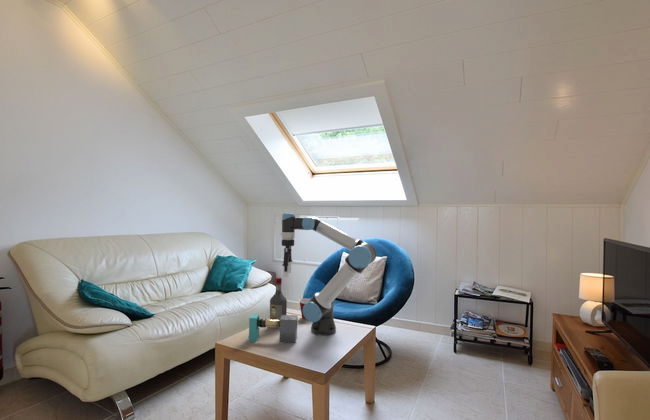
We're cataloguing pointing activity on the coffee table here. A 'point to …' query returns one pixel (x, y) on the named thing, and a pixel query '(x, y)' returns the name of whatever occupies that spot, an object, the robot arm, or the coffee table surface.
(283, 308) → the liquor
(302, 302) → the plastic cup
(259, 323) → the brass tube
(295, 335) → the grey matte cuboid
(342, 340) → the coffee table surface
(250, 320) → the socket
